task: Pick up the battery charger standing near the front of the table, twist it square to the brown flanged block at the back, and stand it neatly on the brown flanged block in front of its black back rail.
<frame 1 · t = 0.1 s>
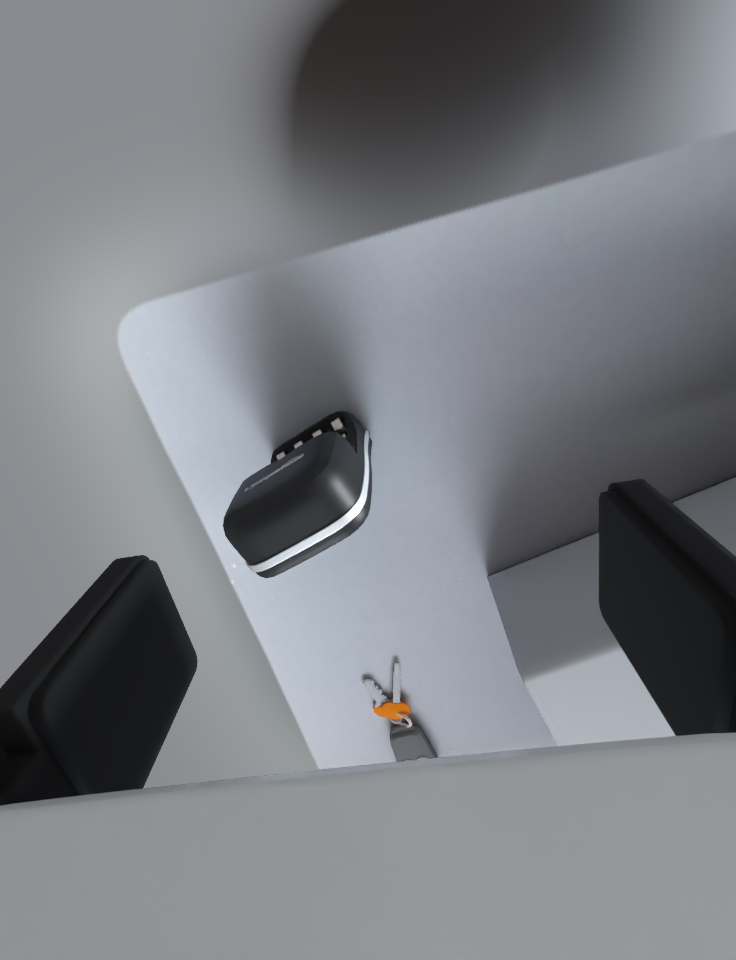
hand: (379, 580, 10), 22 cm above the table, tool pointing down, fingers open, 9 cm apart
box: (722, 589, 36), on the table
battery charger: (317, 441, 32), on the table
key chain: (401, 716, 43), on the table
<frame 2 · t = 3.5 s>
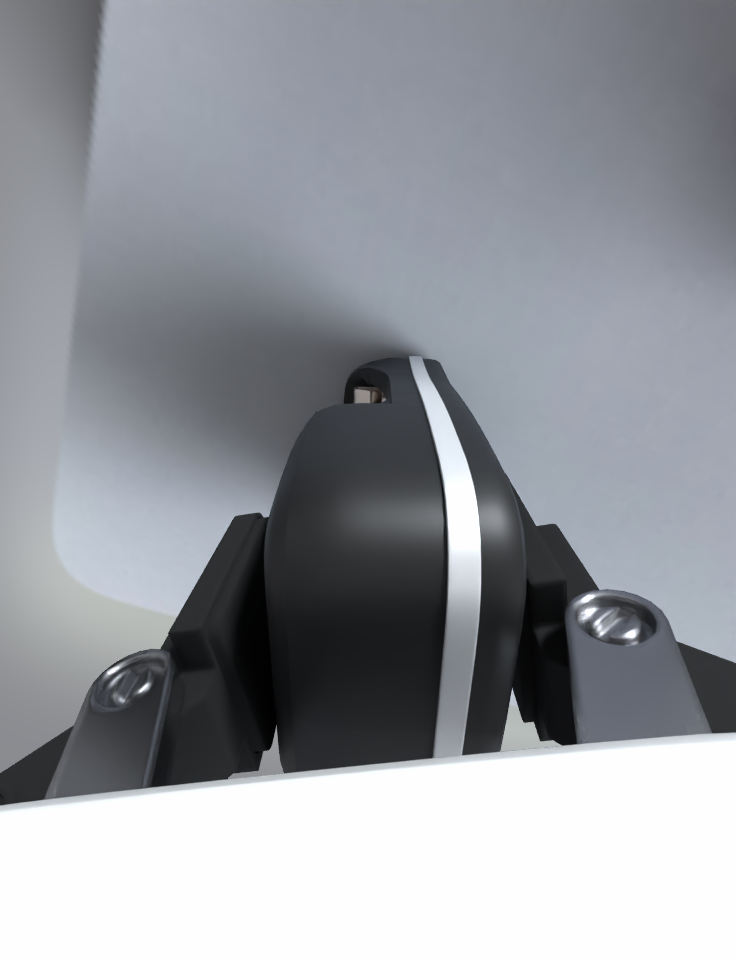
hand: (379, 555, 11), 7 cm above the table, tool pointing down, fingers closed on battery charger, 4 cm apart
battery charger: (380, 447, 18), on the table, touching gripper
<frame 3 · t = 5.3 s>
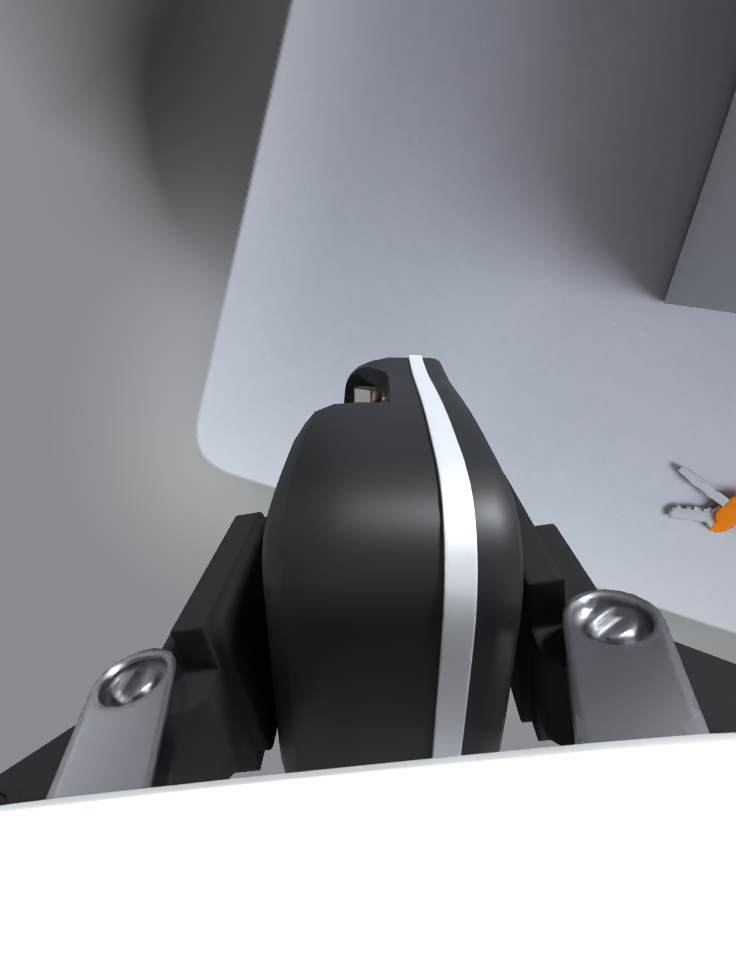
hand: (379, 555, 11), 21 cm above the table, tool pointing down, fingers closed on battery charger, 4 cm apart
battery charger: (381, 446, 18), point 14 cm above the table, touching gripper
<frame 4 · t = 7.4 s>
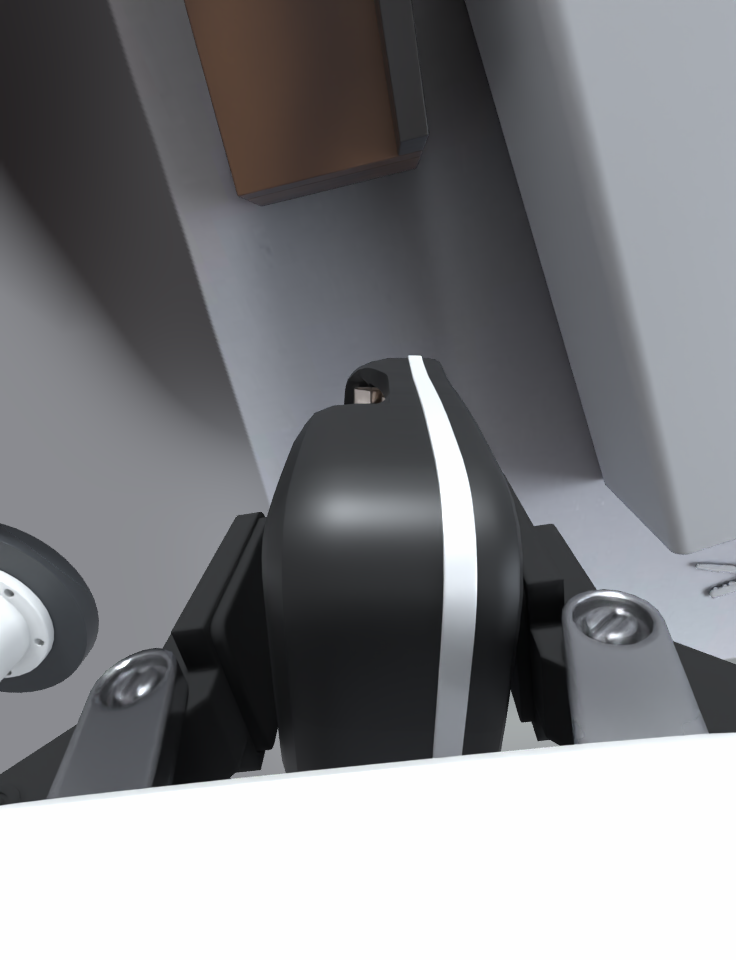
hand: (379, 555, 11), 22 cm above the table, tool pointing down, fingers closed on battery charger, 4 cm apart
box: (702, 193, 27), on the table
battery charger: (381, 447, 18), point 15 cm above the table, touching gripper
brown flanged block: (310, 55, 25), on the table
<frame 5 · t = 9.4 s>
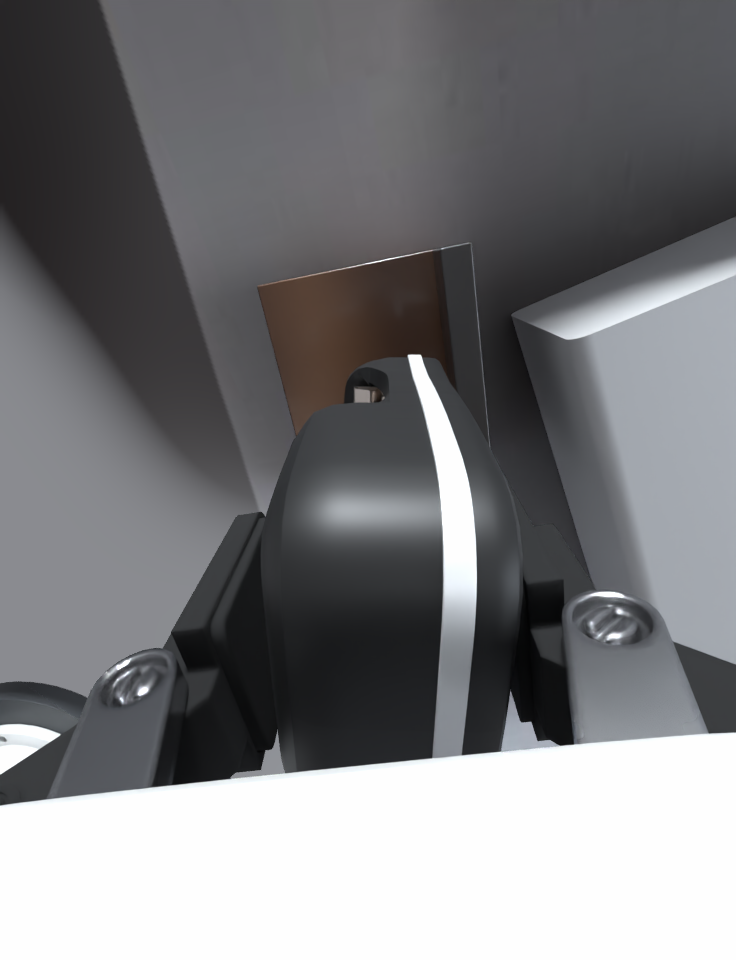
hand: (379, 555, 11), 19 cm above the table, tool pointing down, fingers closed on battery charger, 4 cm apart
box: (724, 483, 31), on the table
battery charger: (381, 446, 17), point 12 cm above the table, touching gripper
brown flanged block: (380, 376, 28), on the table
when the fingers open (12 cm above the table, at t = 11.3 s): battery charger stays where it is, resting on brown flanged block.
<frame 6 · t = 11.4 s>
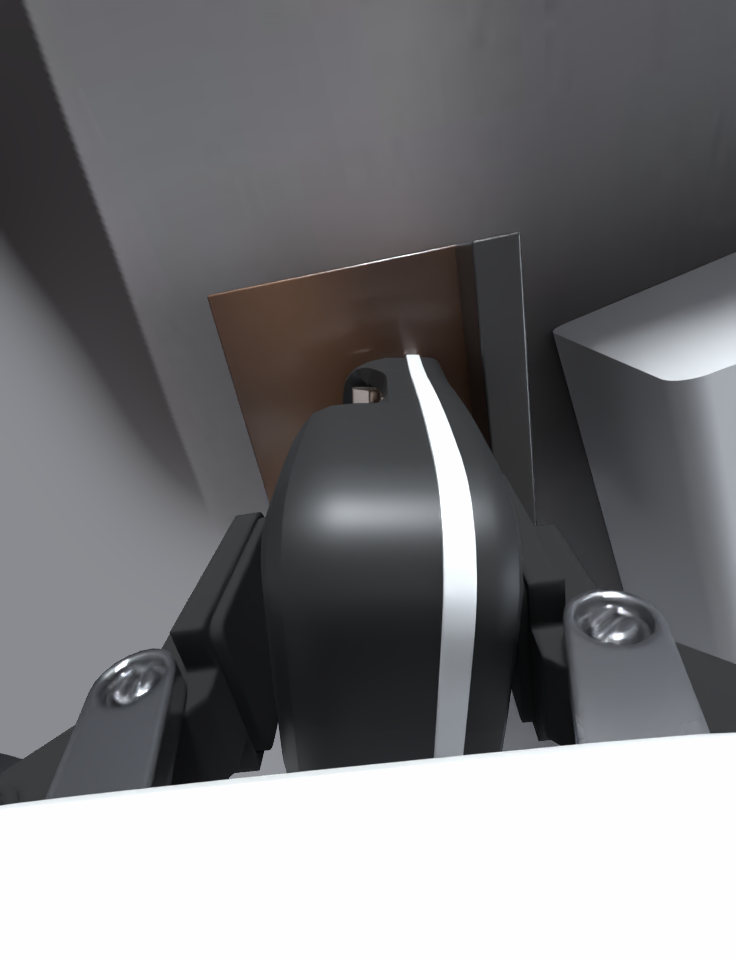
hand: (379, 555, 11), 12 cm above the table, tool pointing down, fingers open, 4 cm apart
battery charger: (380, 446, 18), point 5 cm above the table, touching brown flanged block
brown flanged block: (380, 409, 22), on the table
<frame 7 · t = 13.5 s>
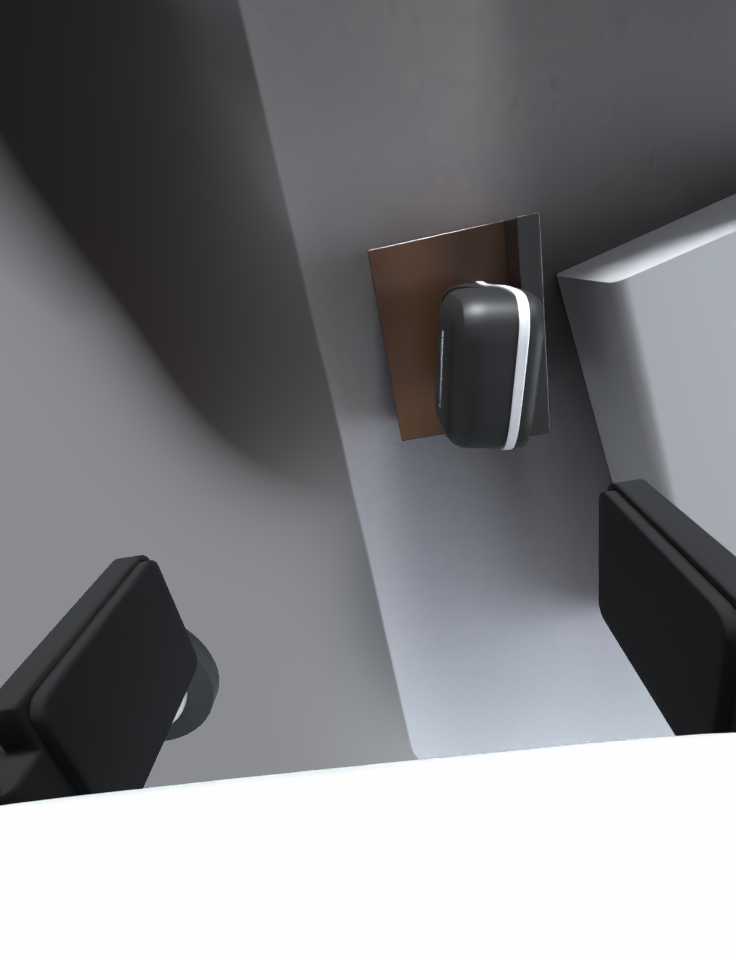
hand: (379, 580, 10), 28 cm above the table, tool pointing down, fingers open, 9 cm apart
box: (728, 416, 37), on the table
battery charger: (457, 339, 31), point 5 cm above the table, touching brown flanged block
brown flanged block: (448, 328, 35), on the table
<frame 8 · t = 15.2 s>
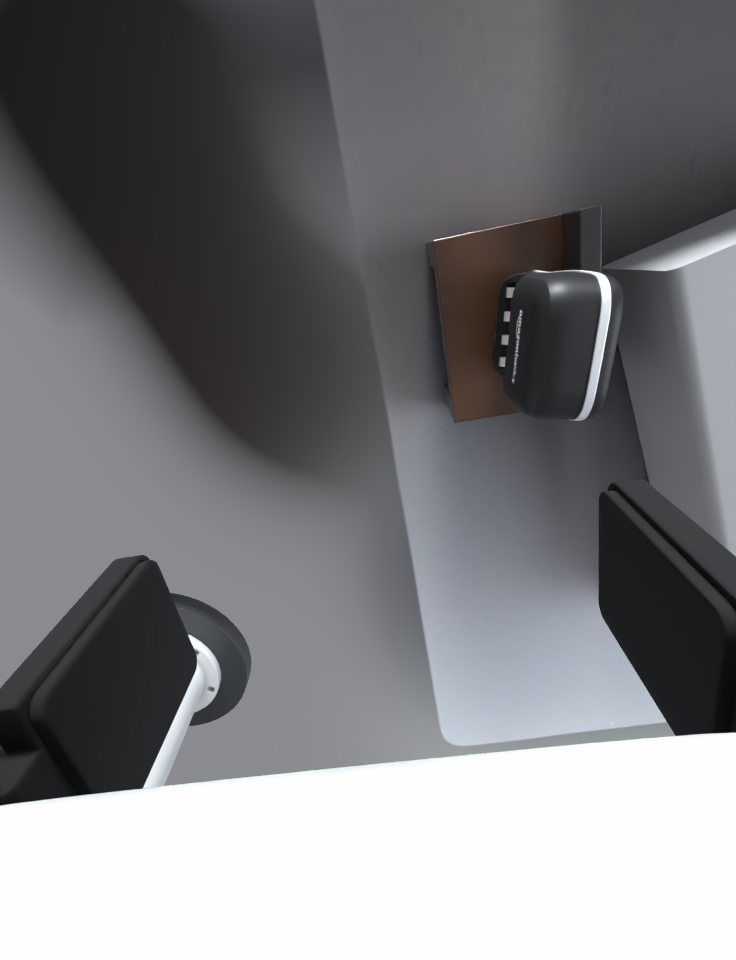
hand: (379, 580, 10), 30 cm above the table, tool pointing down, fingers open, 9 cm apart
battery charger: (512, 325, 32), point 5 cm above the table, touching brown flanged block
brown flanged block: (496, 317, 37), on the table
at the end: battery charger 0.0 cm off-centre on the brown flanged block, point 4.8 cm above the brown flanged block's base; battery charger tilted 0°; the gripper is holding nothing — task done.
